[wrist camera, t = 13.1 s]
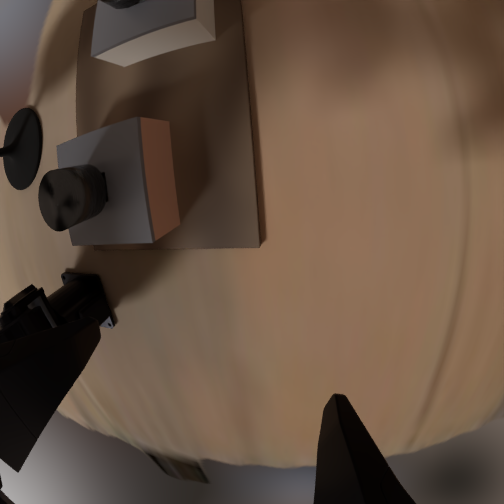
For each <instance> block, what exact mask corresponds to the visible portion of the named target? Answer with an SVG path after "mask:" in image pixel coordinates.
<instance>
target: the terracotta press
mask: <svg viewBox="0 0 504 504" xmlns="http://www.w3.org/2000/svg"><path fill="white" fill-rule="evenodd" d="M57 157H58V167H59V169H61V168H66V167H71V166H77V165H83V164H91V165H93V166H95V167H96V168H97V169H98V170H99V171H100V172H101V174H102V172H105V177H106V185H107V192H108V198H109V201H106V202H105V206H104V208H103V210H102V211H101V213H100V214H99V215H97V216H96V217H93V218H91V219H89V220H86V221H84V222H82V223H79V224H77V225H75V226H72V227H70V228H68V229H69V233H70V238H71V242H72V246H77V245H104V244H134V243H153V242H155V241H156V240H158V239H159V238H161V237H162V236H164V235H165V234H167V233H168V232H170V231H171V230H173V229H174V228H176V227H177V226H179V225H180V217H179V210H178V203H177V195H176V187H175V178H174V169H173V159H172V149H171V138H170V125H169V121H163V120H157V119H150V118H143V117H134V118H131V119H127V120H124V121H121V122H118V123H115V124H112V125H109V126H106V127H103V128H100V129H97V130H95V131H92V132H89V133H87V134H84V135H81V136H79V137H76V138H74V139H72V140H69V141H67V142H64V143H62V144H60V145H58V146H57Z"/></svg>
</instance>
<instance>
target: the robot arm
mask: <svg viewBox="0 0 504 504" xmlns="http://www.w3.org/2000/svg"><path fill="white" fill-rule="evenodd" d="M61 278H62V281H63V284H64V286H62V287H61V288H59V289H58V290H57V291H55V292H54V293H52V294H51V295H50V296H48V297H46V295H45V293H44V290H43V288H42V287H41V288H39V289H37V288H36V287H35V286H34V285H32V284H31V285H30V286H28V287H27V288H25V289H24V290H22V291H21V292H19V293H18V294H16V295H15V296H14V297H12V298H11V299H10V300H8V301H7V302H6V303H4V308H3V312H2V313H1V315H0V459H2V460H3V461H4V462H5V463H7V464H8V465H9V466H10V467H12V468H13V469H14V470H15V471H16V472H19V471H20V469H21V467H22V466H23V464H24V462H25V460H26V458H27V457H28V455H29V453H30V451H31V450H32V448H33V446H34V445H35V443H36V441H37V439H38V438H39V436H40V434H41V433H42V431H43V429H44V428H45V426H46V425H47V423H48V422H49V420H50V418H51V417H52V415H53V414H54V412H55V411H56V409H57V408H58V406H59V405H60V403H61V401H62V400H63V398H64V397H65V396H66V394H67V393H68V391H69V390H70V389H71V387H72V386H73V384H74V382H75V381H76V379H77V378H78V377H79V375H80V374H81V372H82V371H83V369H84V368H85V366H86V364H87V363H88V361H89V359H90V357H91V355H92V354H93V352H94V350H95V348H96V347H97V345H98V343H99V341H100V339H101V333H100V326H101V327H106V328H113V327H114V326H115V323H114V320H113V317H112V315H111V312H110V309H109V306H108V303H107V300H106V297H105V294H104V290H103V287H102V284H101V281H100V278H99V276H98V275H96V274H83V273H67V272H64V273H63V274H61ZM1 488H2V481H1V476H0V489H1ZM0 504H14V503H13V502H12V501H11V500H10V499H9V498H8V497H7V496H6V495H5V494H4V493H3V492H2V491H1V490H0ZM314 504H416V503H415V502H414V500H413V499H412V498H411V497H410V495H409V494H408V493H407V492H406V490H405V489H404V488H403V486H402V485H401V484H400V482H399V481H398V479H397V478H396V476H395V475H394V473H393V471H392V470H391V468H390V467H388V463H387V462H386V460H385V458H384V457H383V455H382V454H381V452H380V450H379V449H378V447H377V445H376V444H375V442H374V441H373V439H372V437H371V436H370V434H369V433H368V431H367V429H366V428H365V426H364V424H363V423H362V421H361V420H360V418H359V416H358V415H357V413H356V412H355V410H354V408H353V407H352V405H351V403H350V402H349V400H348V399H347V397H346V396H345V395H343V394H333V395H332V397H331V398H330V400H329V401H328V403H327V404H326V406H325V407H324V410H323V416H322V423H321V429H320V436H319V441H318V449H317V466H316V481H315V493H314Z"/></svg>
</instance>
